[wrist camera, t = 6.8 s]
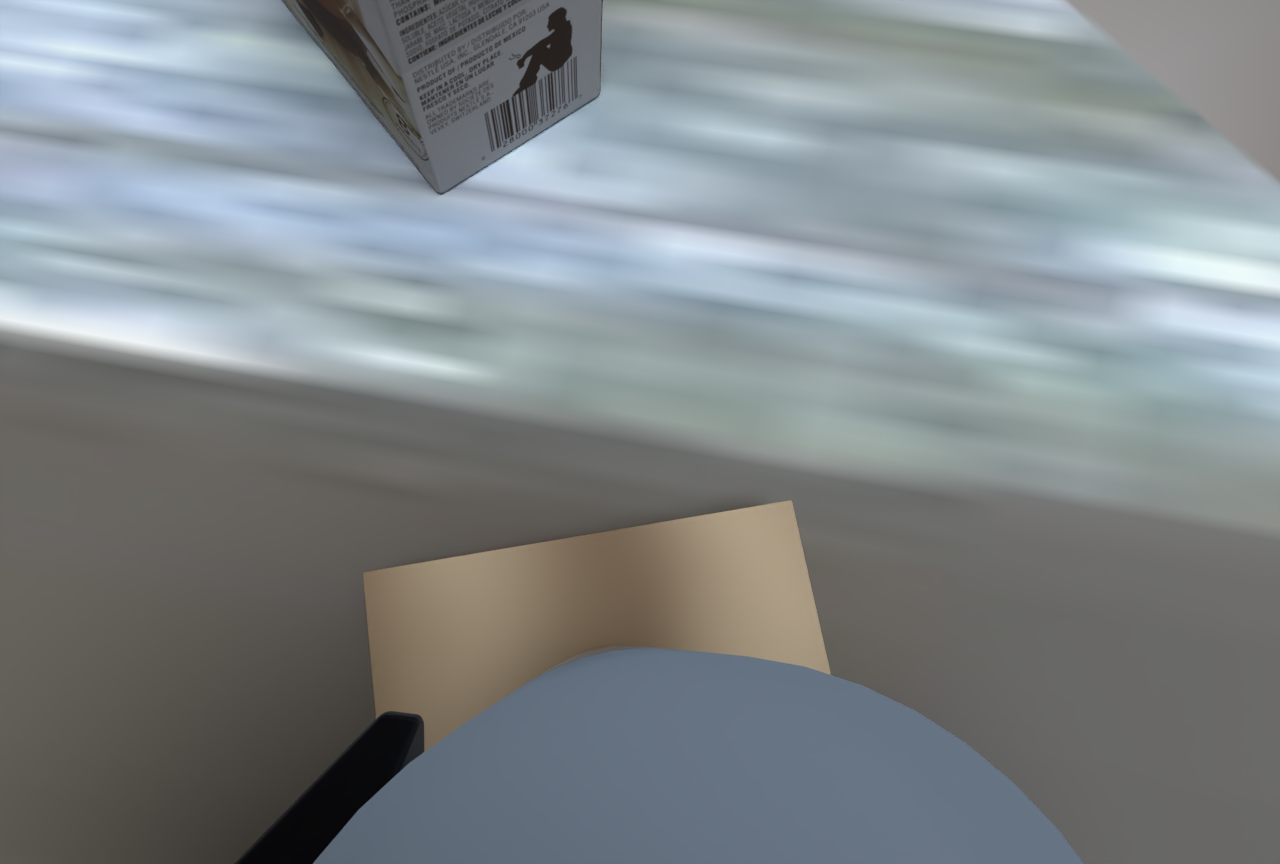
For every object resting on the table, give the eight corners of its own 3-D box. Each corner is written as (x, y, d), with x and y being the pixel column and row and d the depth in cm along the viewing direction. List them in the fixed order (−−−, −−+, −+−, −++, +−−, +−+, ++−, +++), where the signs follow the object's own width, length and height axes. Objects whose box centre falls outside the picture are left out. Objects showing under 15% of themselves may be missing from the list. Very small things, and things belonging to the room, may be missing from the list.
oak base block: (433, 1024, 18) (409, 1085, 15) (390, 579, 20) (362, 572, 18) (858, 928, 19) (897, 971, 16) (768, 515, 21) (791, 500, 19)
